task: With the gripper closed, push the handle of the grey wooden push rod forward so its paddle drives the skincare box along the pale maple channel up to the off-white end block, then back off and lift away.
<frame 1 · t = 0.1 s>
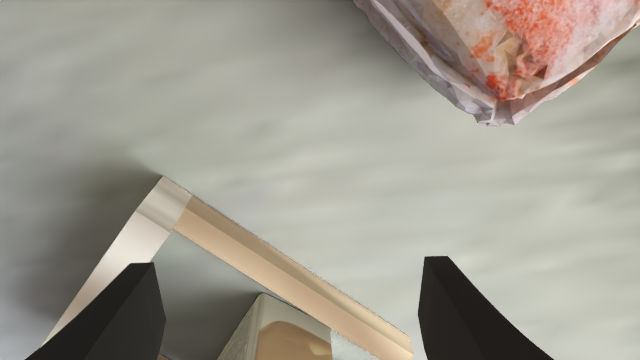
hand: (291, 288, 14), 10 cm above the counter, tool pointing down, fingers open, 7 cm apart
channel: (250, 336, 27), on the counter
skincare box: (269, 345, 27), resting in channel
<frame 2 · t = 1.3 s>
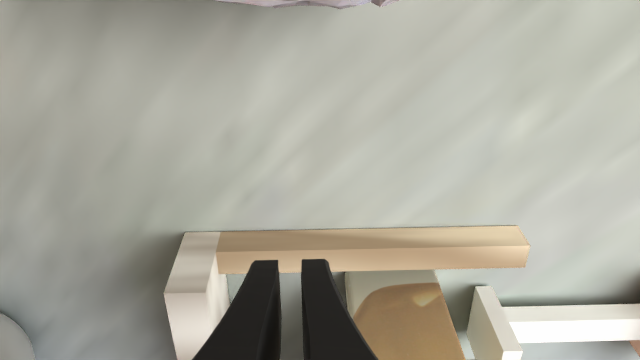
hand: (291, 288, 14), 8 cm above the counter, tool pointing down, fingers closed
channel: (365, 310, 25), on the counter
push rod: (602, 338, 24), point 2 cm above the counter, slide at 0.0 cm
skincare box: (389, 306, 26), resting in channel
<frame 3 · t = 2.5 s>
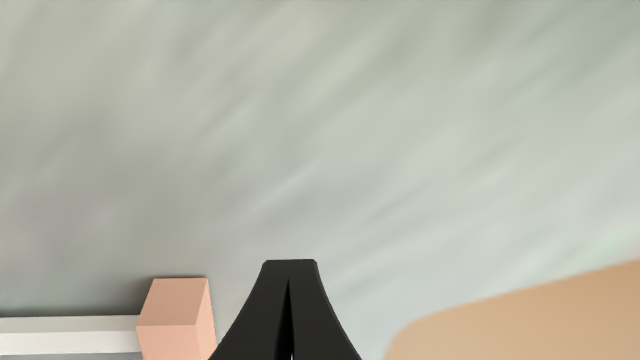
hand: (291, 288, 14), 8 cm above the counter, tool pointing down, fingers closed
push rod: (82, 350, 23), point 2 cm above the counter, slide at 0.0 cm
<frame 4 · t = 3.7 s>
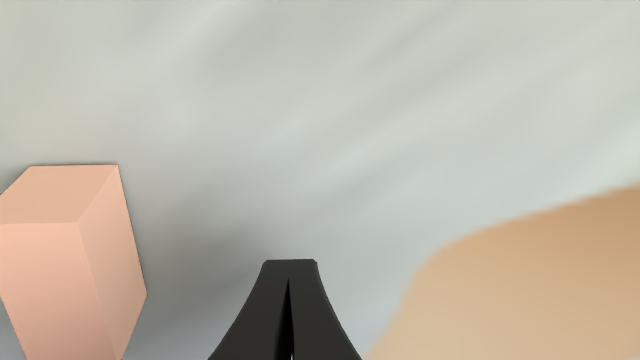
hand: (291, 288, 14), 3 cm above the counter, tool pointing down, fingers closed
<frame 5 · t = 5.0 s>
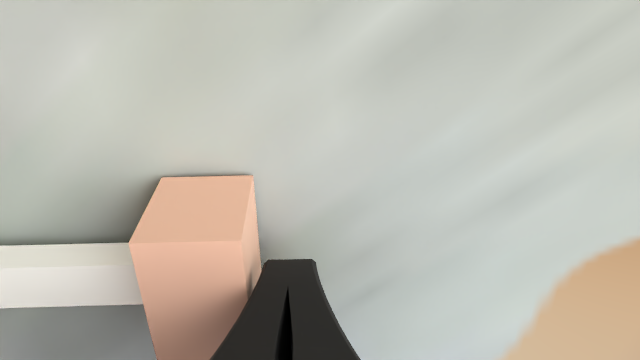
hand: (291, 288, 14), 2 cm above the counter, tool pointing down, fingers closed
push rod: (38, 300, 13), point 2 cm above the counter, slide at 0.3 cm, touching gripper
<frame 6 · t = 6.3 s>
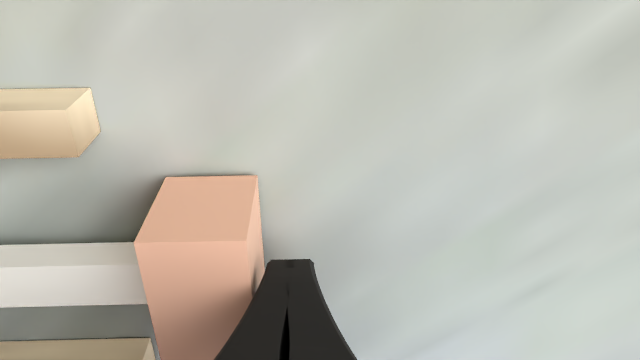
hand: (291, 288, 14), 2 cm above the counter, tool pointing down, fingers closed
push rod: (41, 299, 13), point 2 cm above the counter, slide at 5.8 cm, touching gripper, skincare box
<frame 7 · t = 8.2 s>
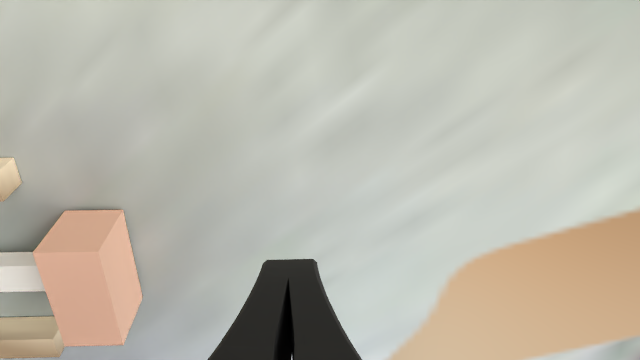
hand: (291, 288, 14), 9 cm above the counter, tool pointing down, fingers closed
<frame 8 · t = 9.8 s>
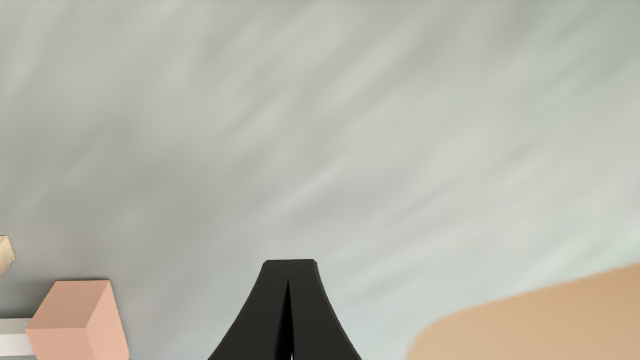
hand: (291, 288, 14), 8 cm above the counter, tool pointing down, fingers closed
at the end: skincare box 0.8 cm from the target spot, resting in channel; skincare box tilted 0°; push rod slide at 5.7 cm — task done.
